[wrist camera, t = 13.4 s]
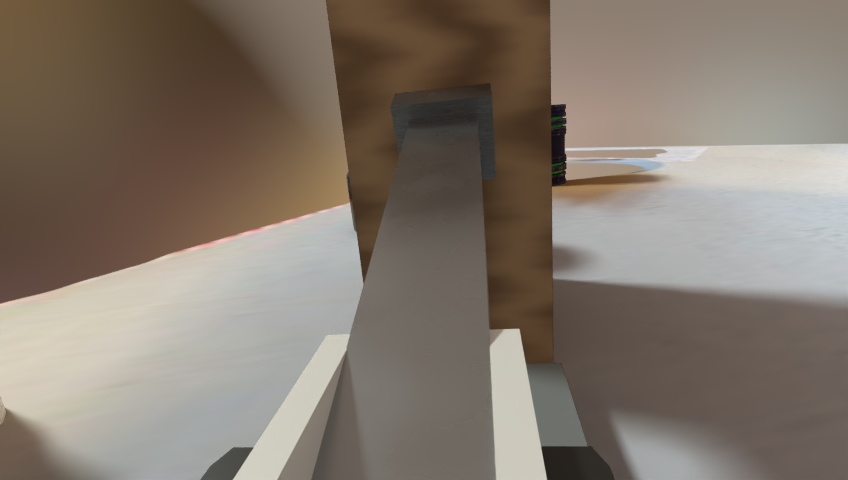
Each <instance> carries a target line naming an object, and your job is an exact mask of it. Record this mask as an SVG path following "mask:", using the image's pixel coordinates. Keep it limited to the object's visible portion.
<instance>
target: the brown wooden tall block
mask: <svg viewBox="0 0 848 480" xmlns="http://www.w3.org/2000/svg"><path fill="white" fill-rule="evenodd" d="M326 5H327V13H328V20H329V28H330V35H331V43H332V49H333V57H334V65H335V73H336V80H337V88H338V95H339V103H340V110H341V117H342V125H343V133H344V140H345V148H346V154H347V162H348V170H349V178H350V185H351V193H352V200H353V208H354V215H355V223H356V230H357V238H358V245H359V253H360V260H361V268H362V275H363V283H364V282H365V279H366V275H367V271H368V268H369V264H370V261H371V257H372V253H373V250H374V246H375V242H376V239H377V235H378V232H379V228H380V224H381V221H382V217H383V213H384V210H385V206H386V203H387V199H388V195H389V192H390V188H391V184H392V181H393V177H394V174H395V170H396V166H397V163H398V159H399V153H398V147H397V142H396V136H395V130H394V125H393V119H392V113H391V108H390V106H391V103H392V101H393V98H394V96H395V93H404V92H413V91H422V90H431V89H440V88H449V87H458V86H467V85H476V84H486V83H490V85H491V92H492V106H493V127H494V148H495V169H496V179H486V180H482V191H483V208H484V225H485V243H486V260H487V278H488V295H489V313H490V330H495V329H519V330H520V335H521V341H522V346H523V352H524V357H525V362H526V364H535V363H553V269H552V163H551V64H550V63H551V62H550V60H551V57H550V0H326Z"/></svg>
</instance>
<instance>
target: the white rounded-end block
mask: <svg viewBox="0 0 848 480" xmlns="http://www.w3.org/2000/svg"><path fill="white" fill-rule="evenodd" d="M5 415H6V410H5V408H4V405H3V403H2V400H1V398H0V425H1V424H2V423H3V421H4V419H5Z"/></svg>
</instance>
